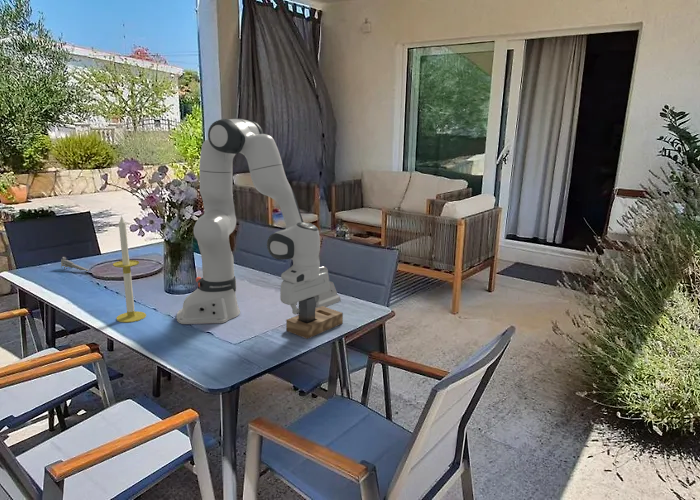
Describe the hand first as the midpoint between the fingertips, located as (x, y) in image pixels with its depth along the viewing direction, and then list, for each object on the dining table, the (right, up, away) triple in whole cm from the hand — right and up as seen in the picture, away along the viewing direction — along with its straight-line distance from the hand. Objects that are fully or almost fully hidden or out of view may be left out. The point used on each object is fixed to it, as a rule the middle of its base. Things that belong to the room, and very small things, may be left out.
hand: (305, 310), depth 166 cm
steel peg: (0, -7, +2) cm, 8 cm away
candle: (-64, -4, +10) cm, 65 cm away
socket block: (+3, -7, +5) cm, 9 cm away
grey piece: (+3, -1, +27) cm, 28 cm away
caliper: (-113, +10, +63) cm, 130 cm away
